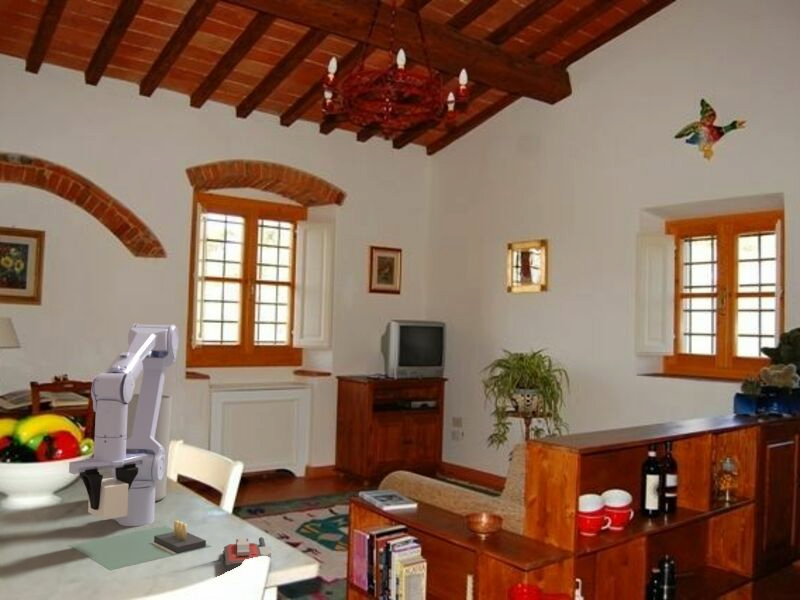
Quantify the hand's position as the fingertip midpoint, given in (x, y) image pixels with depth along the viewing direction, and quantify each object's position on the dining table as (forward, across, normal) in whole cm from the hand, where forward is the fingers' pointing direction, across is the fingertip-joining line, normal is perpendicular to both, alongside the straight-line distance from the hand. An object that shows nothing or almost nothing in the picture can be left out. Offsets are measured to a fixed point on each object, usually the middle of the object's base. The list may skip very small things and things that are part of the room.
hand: (107, 506), depth 138 cm
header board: (+8, +5, -4) cm, 11 cm away
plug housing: (+1, 0, 0) cm, 1 cm away
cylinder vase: (+9, +23, +33) cm, 41 cm away
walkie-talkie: (+9, +17, -22) cm, 29 cm away
